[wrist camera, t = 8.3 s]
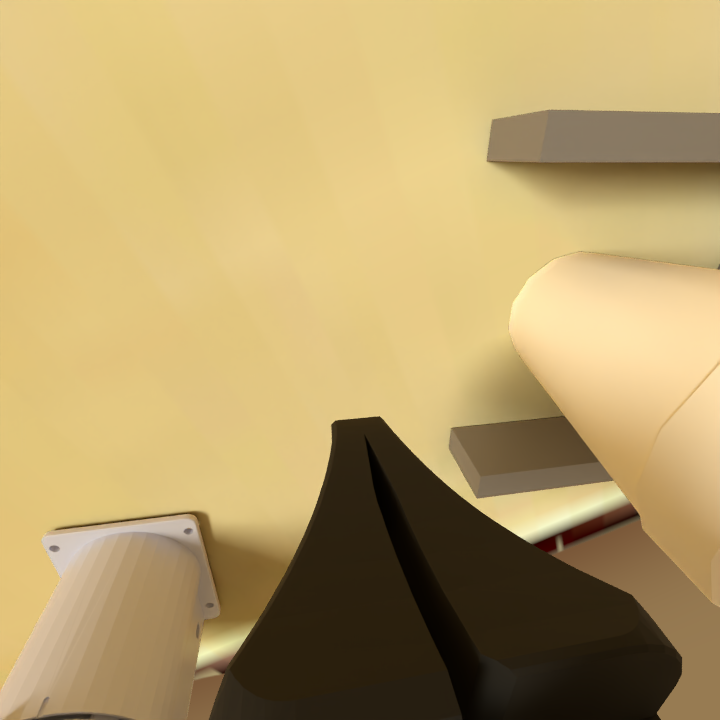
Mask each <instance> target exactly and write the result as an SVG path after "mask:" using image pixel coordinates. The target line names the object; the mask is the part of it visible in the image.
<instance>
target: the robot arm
mask: <svg viewBox="0 0 720 720" xmlns="http://www.w3.org/2000/svg"><path fill="white" fill-rule="evenodd" d="M331 427H332V446H331V453H330V458H329V462H328V467H327V471H326V475H325V479H324V482H323V485H322V488H321V492H320V495H319V498H318V501H317V504H316V507H315V509H314V512H313V515H312V517H311V520H310V522H309V524H308V527H307V529H306V532H305V534H304V536H303V538H302V540H301V543H300V545H299V547H298V549H297V551H296V553H295V555H294V557H293V559H292V561H291V563H290V565H289V567H288V569H287V571H286V573H285V575H284V577H283V578H282V580H281V582H280V584H279V585H278V587H277V589H276V591H275V592H274V594H273V596H272V598H271V599H270V601H269V603H268V605H267V606H266V608H265V610H264V611H263V613H262V615H261V616H260V618H259V620H258V621H257V623H256V624H255V626H254V627H253V629H252V630H251V632H250V633H249V635H248V636H247V638H246V639H245V641H244V642H243V644H242V645H241V647H240V648H239V650H238V651H237V653H236V654H235V656H234V657H233V659H232V660H231V662H230V663H229V665H228V667H227V669H226V672H225V675H224V677H223V680H222V683H221V686H220V688H219V691H218V694H217V697H216V699H215V702H214V706H213V709H212V712H211V715H210V718H209V720H661V719H660V718H659V716H658V715H657V711H658V710H659V709H660V707H661V706H662V704H663V703H664V702H665V700H666V699H667V697H668V696H669V694H670V693H671V692H672V690H673V689H674V687H675V686H676V684H677V682H678V680H679V678H680V676H681V674H682V657H681V656H680V654H679V653H678V652H677V650H676V649H675V648H674V646H673V645H672V644H671V642H670V641H669V640H668V639H667V637H666V636H665V635H664V633H663V632H662V631H661V629H660V628H659V627H658V626H657V624H656V623H655V622H654V620H653V619H652V618H651V617H650V616H649V614H648V613H647V612H646V611H645V610H644V609H643V607H642V606H641V605H640V604H639V603H638V602H637V600H635V598H634V597H633V596H632V595H631V594H629V593H627V592H624V591H622V590H620V589H618V588H616V587H614V586H612V585H610V584H608V583H605V582H603V581H601V580H599V579H597V578H595V577H593V576H590V575H589V574H586V573H584V572H582V571H580V570H578V569H576V568H574V567H572V566H570V565H568V564H566V563H564V562H562V561H561V560H559V559H557V558H555V557H553V556H552V555H550V554H548V553H546V552H544V551H542V550H540V549H539V548H537V547H535V546H534V545H532V544H530V543H528V542H527V541H525V540H523V539H522V538H520V537H518V536H517V535H515V534H514V533H512V532H511V531H509V530H507V529H506V528H504V527H503V526H501V525H500V524H498V523H496V522H495V521H493V520H492V519H491V518H489V517H488V516H486V515H485V514H483V513H482V512H480V511H479V510H478V509H476V508H475V507H474V506H472V505H471V504H470V503H468V502H467V501H466V500H464V499H463V498H462V497H461V496H459V495H458V494H457V493H456V492H454V491H453V490H452V489H451V488H450V487H449V486H447V485H446V484H445V483H444V482H443V481H442V480H441V479H440V478H438V477H437V476H436V475H435V474H434V473H433V472H432V471H431V470H430V469H429V468H428V467H427V466H426V465H425V464H424V463H422V462H421V461H420V460H419V459H418V458H417V457H416V456H415V455H414V454H413V453H412V452H411V450H410V449H409V448H408V447H407V446H406V445H405V444H404V443H403V442H402V441H401V440H400V439H399V438H398V436H397V435H396V434H395V433H394V432H393V431H392V430H391V428H390V427H389V426H388V425H387V424H386V423H385V421H384V420H383V419H382V418H381V417H368V418H358V419H348V420H337V421H335V422H334V423H333V424H332V425H331ZM188 528H191V529H188ZM41 542H42V545H43V546H44V548H45V550H46V552H47V554H48V556H49V558H50V559H51V561H52V563H53V565H54V567H55V569H56V570H57V572H58V574H59V576H60V578H61V579H60V581H59V582H58V584H57V586H56V588H55V590H54V592H53V594H52V595H51V597H50V599H49V601H48V603H47V605H46V607H45V609H44V610H43V612H42V614H41V616H40V618H39V620H38V622H37V624H36V625H35V627H34V629H33V631H32V633H31V635H30V637H29V638H28V640H27V642H26V644H25V646H24V648H23V650H22V652H21V653H20V655H19V657H18V659H17V661H16V663H15V665H14V667H13V668H12V670H11V672H10V674H9V676H8V678H7V680H6V682H5V683H4V685H3V687H2V689H1V691H0V720H186V719H187V714H188V708H189V703H190V697H191V692H192V686H193V680H194V675H195V669H196V663H197V658H198V652H199V647H200V641H201V635H202V630H203V624H204V620H206V619H213V618H216V617H218V616H219V615H220V610H221V607H220V603H219V600H218V596H217V592H216V588H215V584H214V581H213V577H212V573H211V569H210V566H209V562H208V558H207V554H206V550H205V547H204V543H203V539H202V535H201V531H200V528H199V524H198V520H197V518H196V517H195V516H194V515H191V514H184V515H176V516H168V517H160V518H151V519H143V520H135V521H127V522H119V523H111V524H103V525H95V526H87V527H78V528H70V529H62V530H54V531H49V532H47V533H45V535H44V536H43V538H42V540H41Z"/></svg>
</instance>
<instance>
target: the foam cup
mask: <svg viewBox="0 0 720 720" xmlns="http://www.w3.org/2000/svg"><path fill="white" fill-rule="evenodd" d="M508 330H509V333H510V336H511V339H512V342H513V345H514V348H515V350H516V351H517V352H518V353H519V356H520V358H521V359H522V360H523V362H524V363H525V364H526V365H527V367H528V368H529V369H530V371H531V372H532V373H533V375H534V376H535V377H536V379H537V380H538V381H539V383H540V384H541V385H542V387H543V388H544V389H545V391H546V392H547V393H548V394H549V396H550V397H551V398H552V400H553V401H554V402H555V404H556V405H557V406H558V408H559V409H560V410H561V412H562V413H563V414H564V416H565V417H566V418H567V419H568V421H569V422H570V423H571V425H572V426H573V427H574V429H575V430H576V431H577V433H578V434H579V435H580V437H581V438H582V439H583V441H584V442H585V443H586V445H587V446H588V447H589V448H590V450H591V451H592V452H593V454H594V455H595V456H596V458H597V459H598V460H599V462H600V463H601V464H602V466H603V467H604V468H605V470H606V471H607V472H608V474H609V475H610V476H611V477H612V479H613V480H614V481H615V483H616V484H617V485H618V487H619V488H620V489H621V491H622V492H623V493H624V495H625V496H626V497H627V499H628V500H629V501H630V502H631V504H632V505H633V506H634V508H635V509H636V510H637V512H638V513H639V514H640V518H641V524H642V529H643V530H644V531H645V532H646V533H647V534H648V535H649V537H650V538H651V539H652V540H653V541H654V542H655V543H656V544H657V545H658V546H659V547H660V548H661V549H662V550H663V551H664V553H665V554H666V555H667V556H668V557H669V558H670V559H671V560H672V561H673V562H674V563H675V564H676V565H677V566H678V567H679V569H680V570H681V571H682V572H683V573H684V574H685V575H686V576H687V577H688V578H689V579H690V580H691V581H692V582H693V583H694V585H696V587H697V588H698V589H699V590H700V591H701V592H702V593H703V594H704V595H705V596H706V597H707V598H708V599H709V601H710V602H712V603H713V604H714V605H716V606H718V607H720V270H717V269H710V268H703V267H695V266H688V265H680V264H673V263H665V262H658V261H650V260H643V259H635V258H628V257H620V256H613V255H605V254H598V253H591V252H589V253H585V252H577V253H573V254H570V255H566V256H563V257H559V258H556V259H553V260H552V261H550V262H549V263H548V264H546V265H545V266H544V267H542V268H541V269H540V270H539V271H537V272H536V273H535V274H533V275H532V276H531V277H530V278H529V279H528V280H527V282H526V283H525V285H524V286H523V288H522V290H521V291H520V293H519V294H518V296H517V298H516V299H515V301H514V302H513V305H512V311H511V316H510V322H509V327H508Z"/></svg>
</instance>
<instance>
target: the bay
mask: <svg viewBox="0 0 720 720" xmlns="http://www.w3.org/2000/svg"><path fill="white" fill-rule="evenodd" d="M487 161H507V162H720V113H681V112H633V111H584V110H545V111H540V112H534V113H528V114H523V115H517V116H511V117H505V118H500V119H494V120H492V125H491V133H490V141H489V148H488V156H487ZM718 270H720V266H719V268H718ZM449 450H450V451H451V453H452V455H453V457H454V459H455V460H456V462H457V464H458V466H459V468H460V469H461V471H462V473H463V475H464V477H465V478H466V480H467V482H468V484H469V486H470V487H471V489H472V491H473V493H474V495H475V496H476V498H484V497H492V496H499V495H507V494H515V493H522V492H530V491H538V490H545V489H553V488H560V487H568V486H576V485H583V484H591V483H599V482H606V481H614V480H613V479H612V477H611V476H610V475H609V474H608V472H607V471H606V470H605V468H604V467H603V466H602V464H601V463H600V462H599V460H598V459H597V458H596V456H595V455H594V454H593V452H592V451H591V450H590V448H589V447H588V446H587V445H586V443H585V442H584V441H583V439H582V438H581V437H580V435H579V434H578V433H577V431H576V430H575V429H574V427H573V426H572V425H571V423H570V422H569V421H568V419H567V418H566V417H565V416H564V417H555V418H545V419H535V420H526V421H516V422H506V423H496V424H487V425H477V426H467V427H457V428H451V435H450V443H449Z"/></svg>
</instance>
